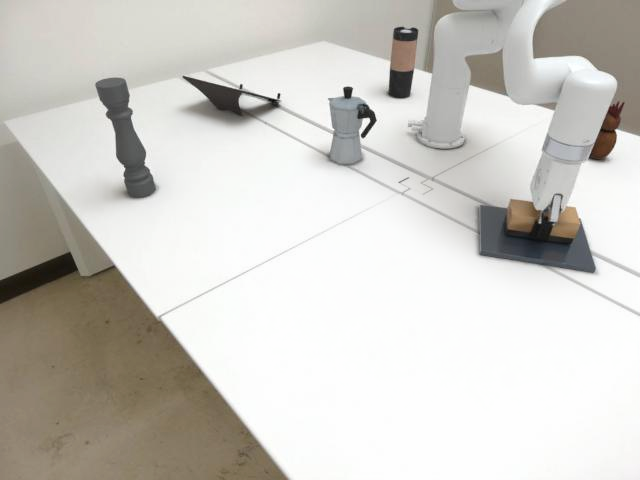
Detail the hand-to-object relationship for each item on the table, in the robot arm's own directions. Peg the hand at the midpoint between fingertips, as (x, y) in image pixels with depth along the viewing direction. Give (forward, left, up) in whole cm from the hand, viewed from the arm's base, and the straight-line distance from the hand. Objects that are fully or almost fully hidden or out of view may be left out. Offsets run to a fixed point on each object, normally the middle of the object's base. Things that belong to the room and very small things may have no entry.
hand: (536, 228), depth 90 cm
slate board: (0, -1, -2) cm, 2 cm away
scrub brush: (0, 0, -1) cm, 1 cm away
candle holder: (-85, -5, -2) cm, 86 cm away
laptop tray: (-82, +46, -2) cm, 95 cm away
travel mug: (-35, +69, -2) cm, 78 cm away
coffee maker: (-42, +22, -2) cm, 48 cm away
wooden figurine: (+19, +39, -2) cm, 44 cm away
